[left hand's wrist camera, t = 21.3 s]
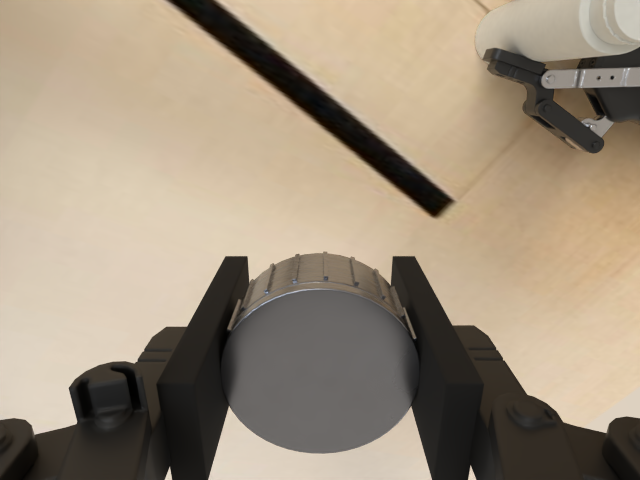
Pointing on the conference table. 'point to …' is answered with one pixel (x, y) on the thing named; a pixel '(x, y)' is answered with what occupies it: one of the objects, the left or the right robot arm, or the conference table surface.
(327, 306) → the lid
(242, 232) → the conference table surface
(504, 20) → the white cylindrical bottle
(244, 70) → the conference table surface
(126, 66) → the conference table surface
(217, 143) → the conference table surface
